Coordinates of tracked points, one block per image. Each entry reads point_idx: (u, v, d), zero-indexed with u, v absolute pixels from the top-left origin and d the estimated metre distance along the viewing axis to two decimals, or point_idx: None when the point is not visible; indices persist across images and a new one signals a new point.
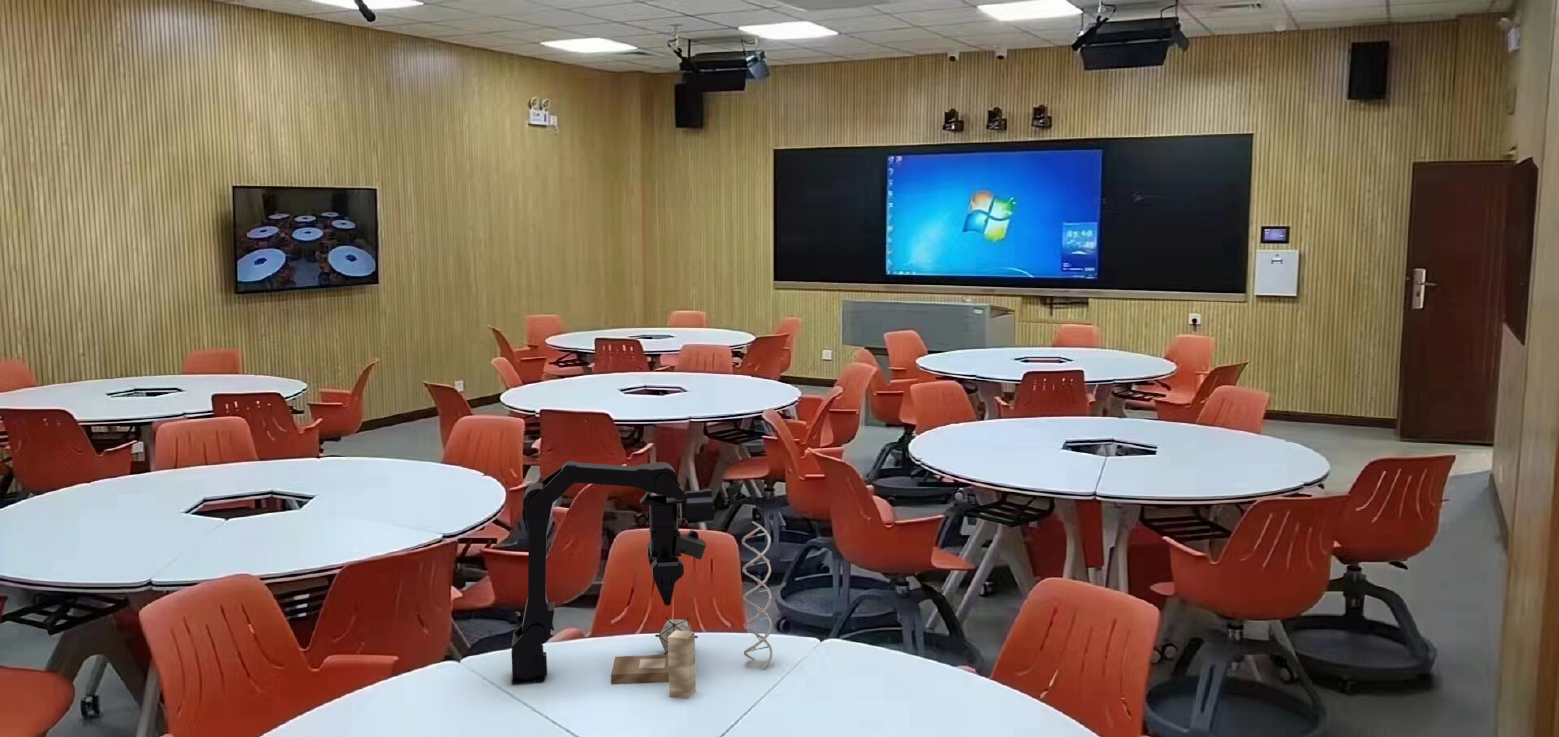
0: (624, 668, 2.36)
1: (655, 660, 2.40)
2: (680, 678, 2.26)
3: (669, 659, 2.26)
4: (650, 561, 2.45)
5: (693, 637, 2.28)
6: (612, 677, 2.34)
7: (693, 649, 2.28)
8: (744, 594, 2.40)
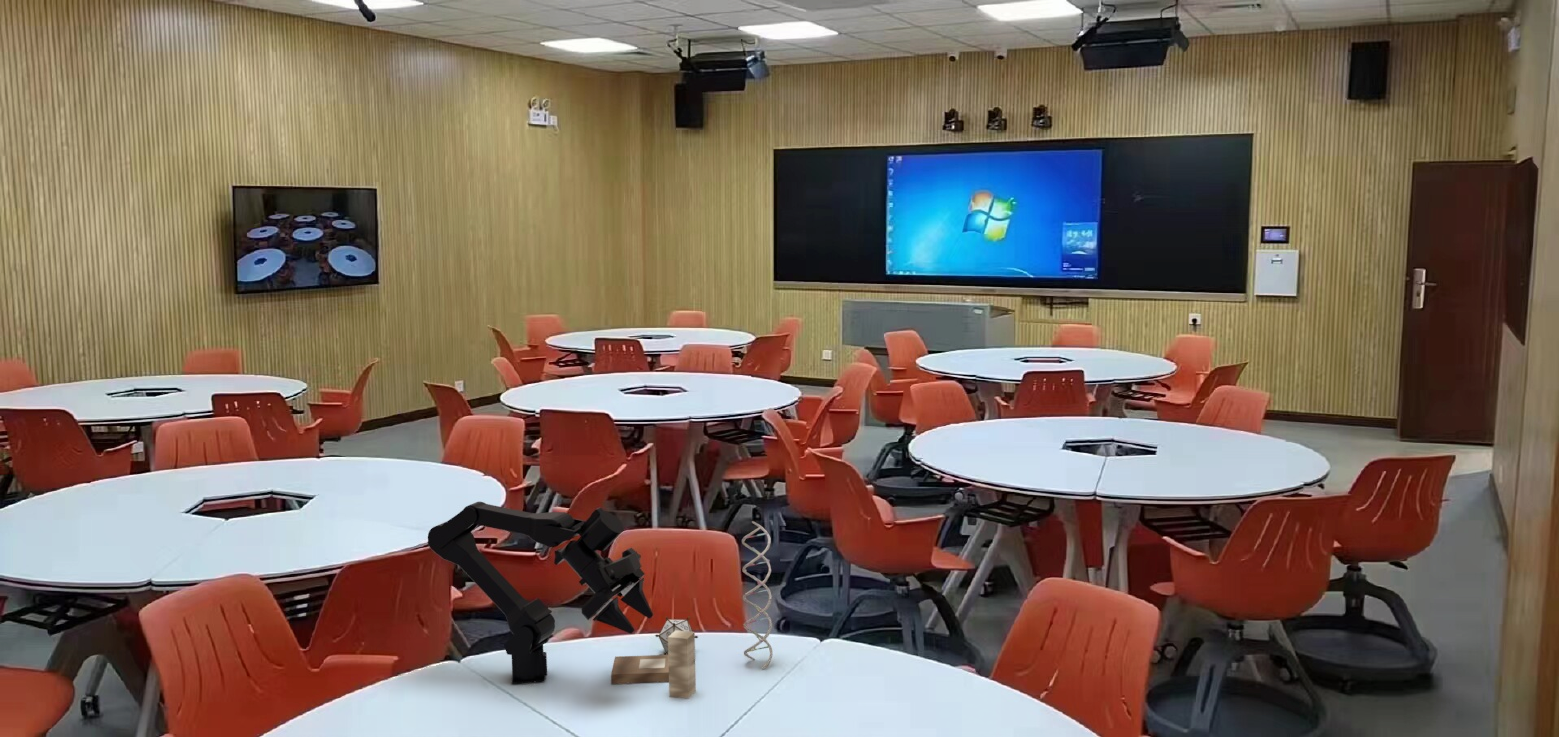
0: (624, 668, 2.36)
1: (655, 660, 2.40)
2: (680, 678, 2.26)
3: (669, 659, 2.26)
4: (622, 599, 2.35)
5: (693, 637, 2.28)
6: (612, 677, 2.34)
7: (693, 649, 2.28)
8: (744, 594, 2.40)
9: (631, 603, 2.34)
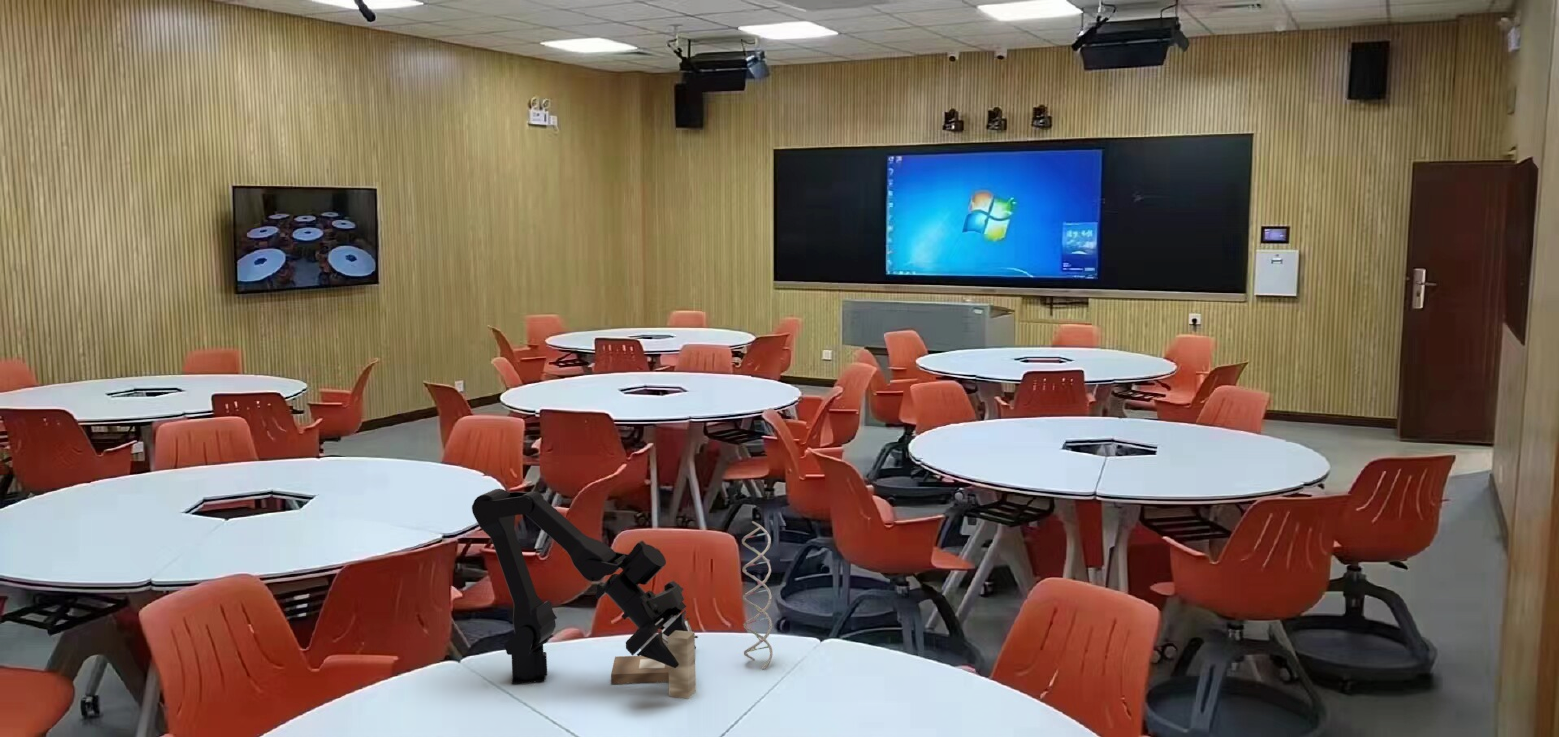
0: (624, 668, 2.36)
1: (655, 660, 2.40)
2: (680, 678, 2.26)
3: None
4: (664, 632, 2.34)
5: (693, 637, 2.28)
6: (612, 677, 2.34)
7: (693, 649, 2.28)
8: (744, 594, 2.40)
9: None
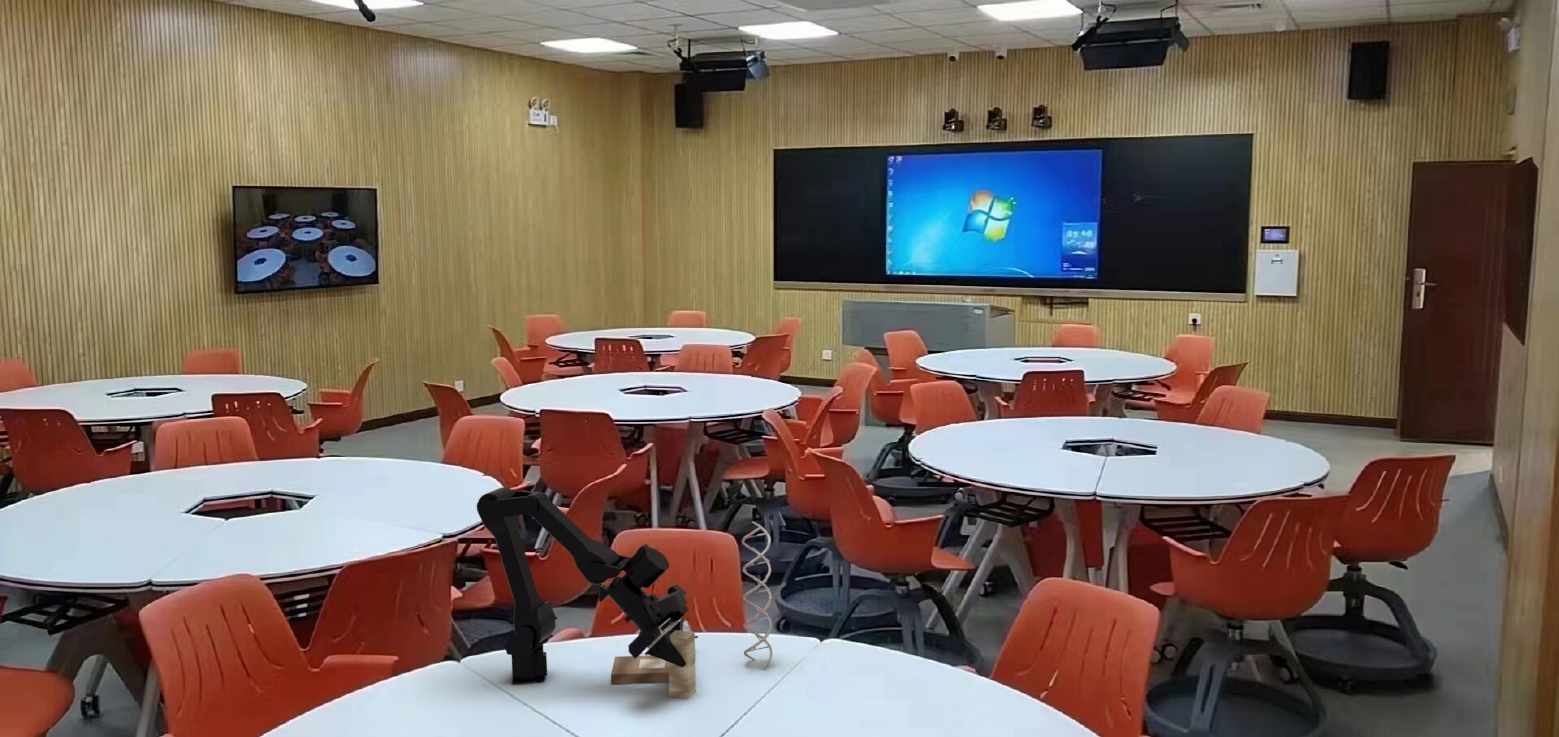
0: (624, 668, 2.36)
1: (655, 660, 2.40)
2: (681, 678, 2.26)
3: None
4: None
5: (693, 637, 2.28)
6: (612, 677, 2.34)
7: (693, 649, 2.28)
8: (744, 594, 2.40)
9: None
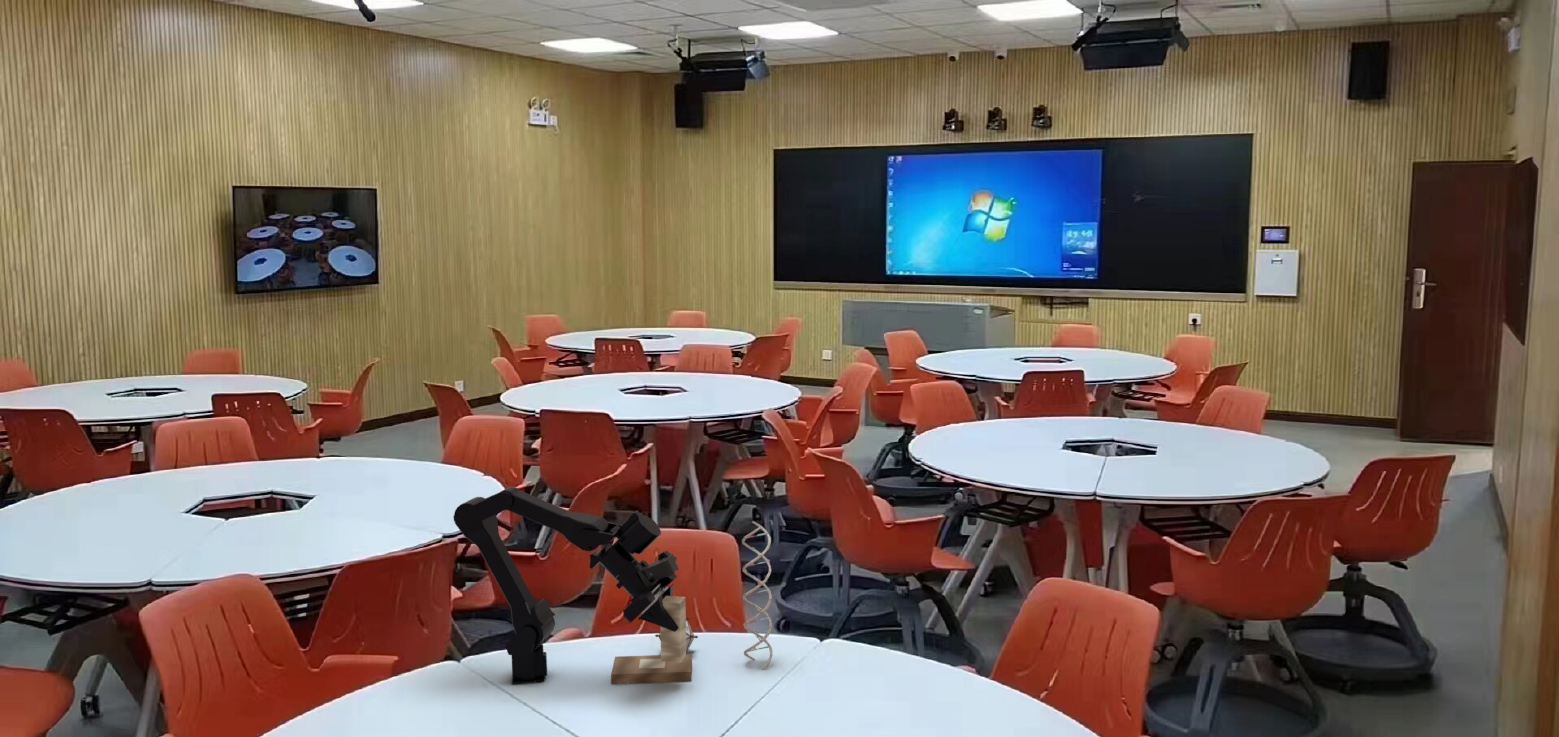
0: (624, 668, 2.36)
1: (655, 660, 2.40)
2: (673, 642, 2.29)
3: None
4: None
5: (684, 602, 2.31)
6: (612, 677, 2.34)
7: (684, 614, 2.31)
8: (744, 594, 2.40)
9: None
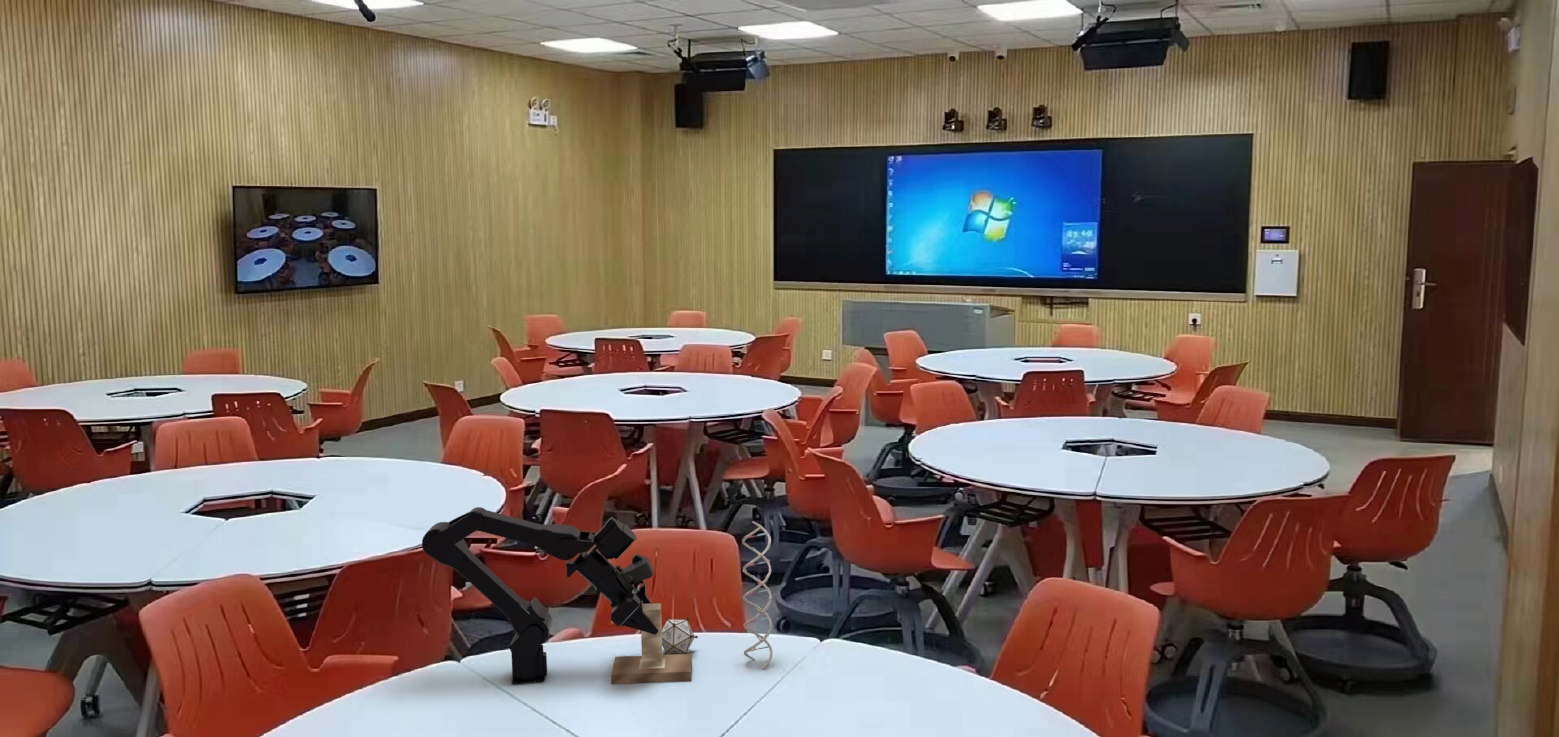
0: (624, 668, 2.36)
1: None
2: (654, 648, 2.37)
3: (641, 631, 2.36)
4: None
5: None
6: (612, 677, 2.34)
7: None
8: (744, 594, 2.40)
9: None
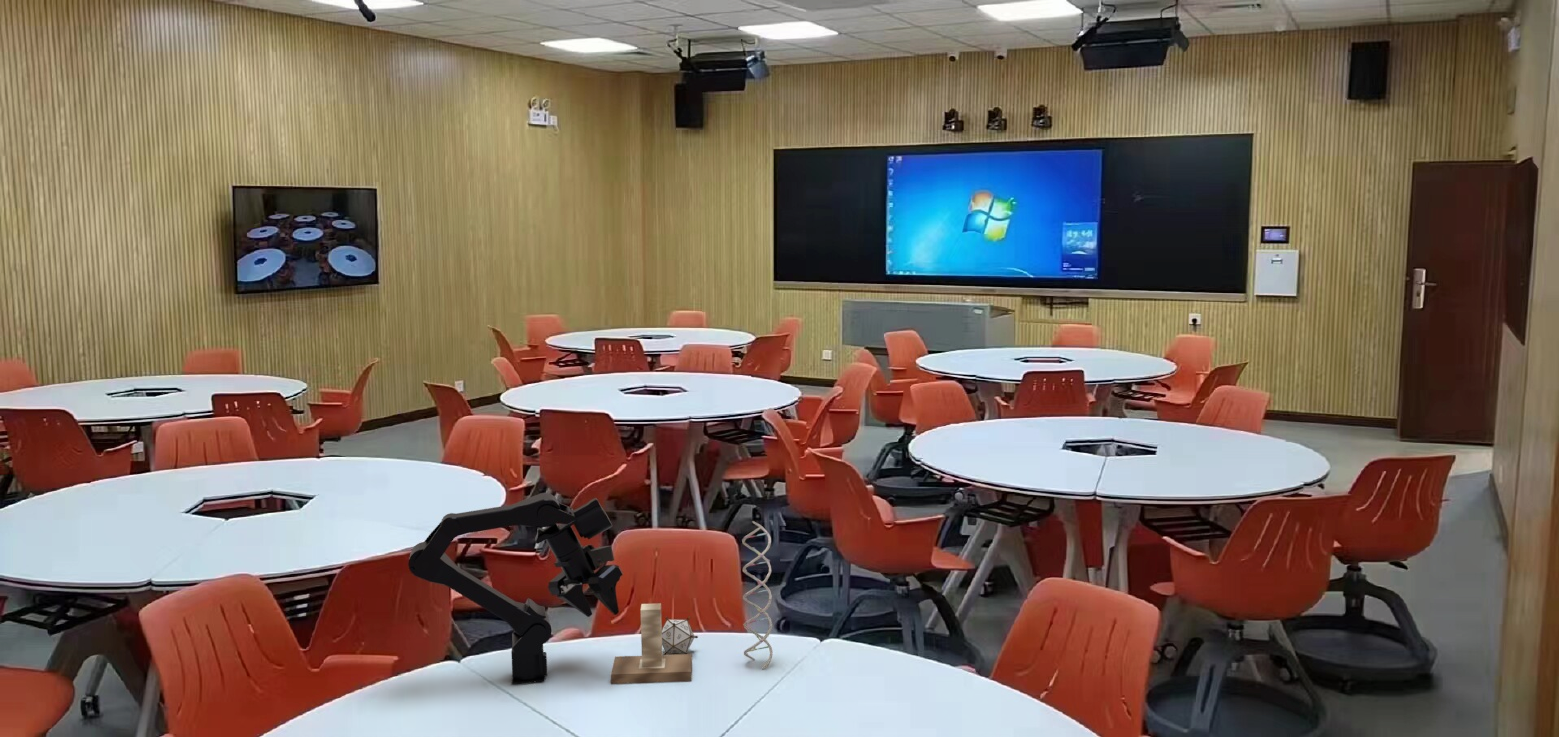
0: (624, 668, 2.36)
1: None
2: (654, 648, 2.37)
3: (641, 631, 2.36)
4: (565, 596, 2.40)
5: None
6: (612, 677, 2.34)
7: None
8: (744, 594, 2.40)
9: (574, 600, 2.41)
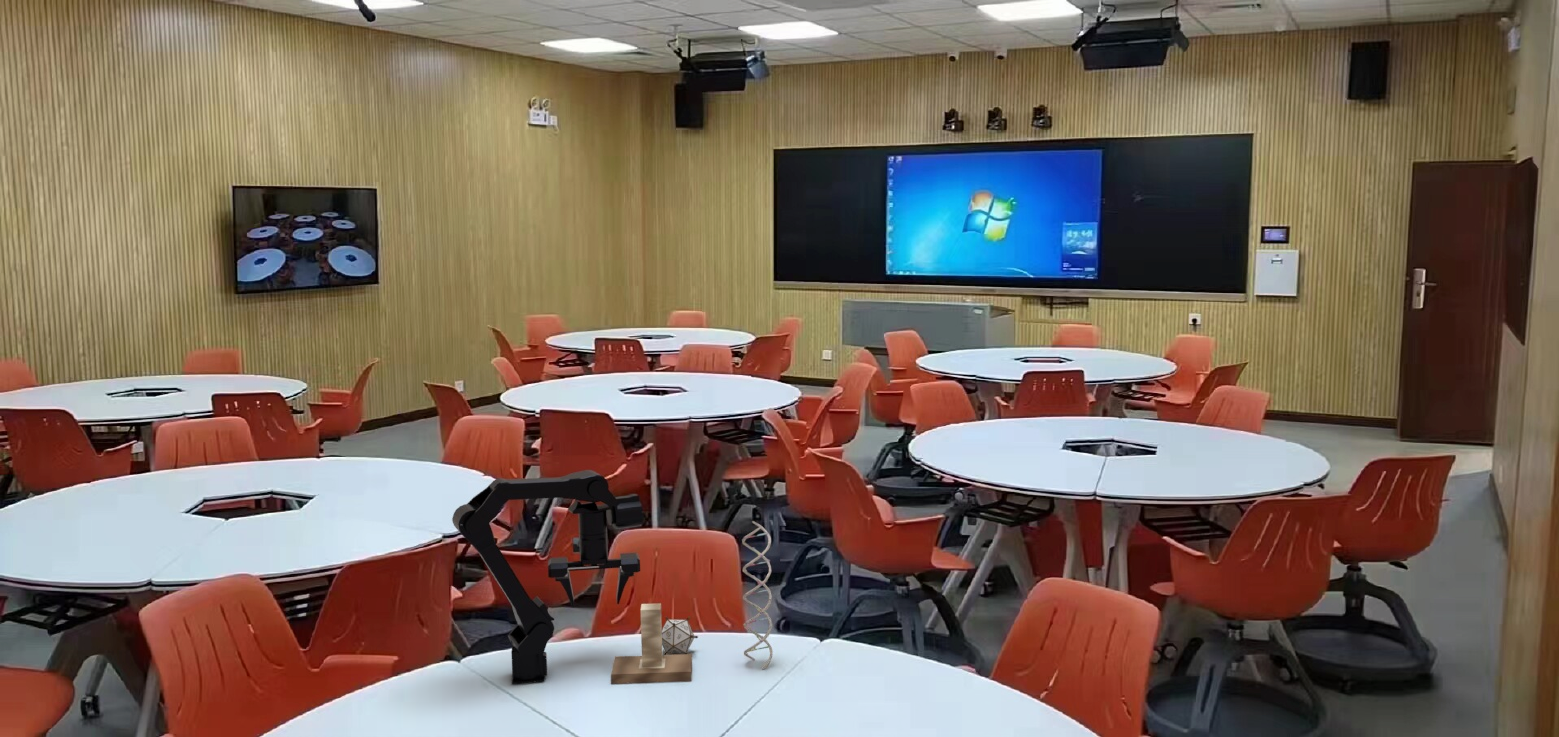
0: (624, 668, 2.36)
1: None
2: (654, 648, 2.37)
3: (641, 631, 2.36)
4: (569, 579, 2.38)
5: None
6: (612, 677, 2.34)
7: None
8: (744, 594, 2.40)
9: (571, 586, 2.40)
